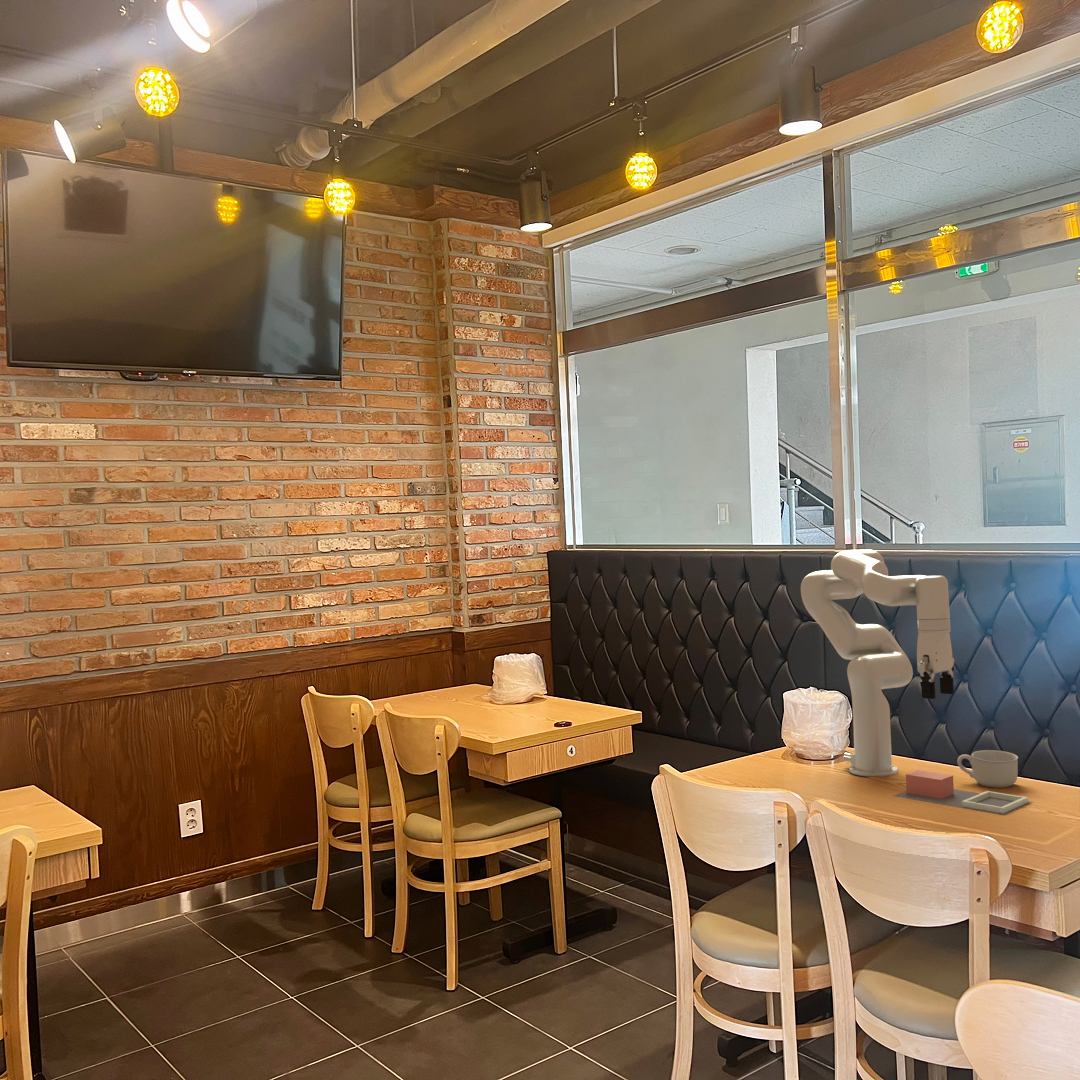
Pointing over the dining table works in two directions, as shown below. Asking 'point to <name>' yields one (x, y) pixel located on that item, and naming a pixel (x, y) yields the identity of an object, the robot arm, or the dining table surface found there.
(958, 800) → the play mat
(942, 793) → the card deck
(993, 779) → the teacup
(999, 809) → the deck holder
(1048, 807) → the dining table surface
